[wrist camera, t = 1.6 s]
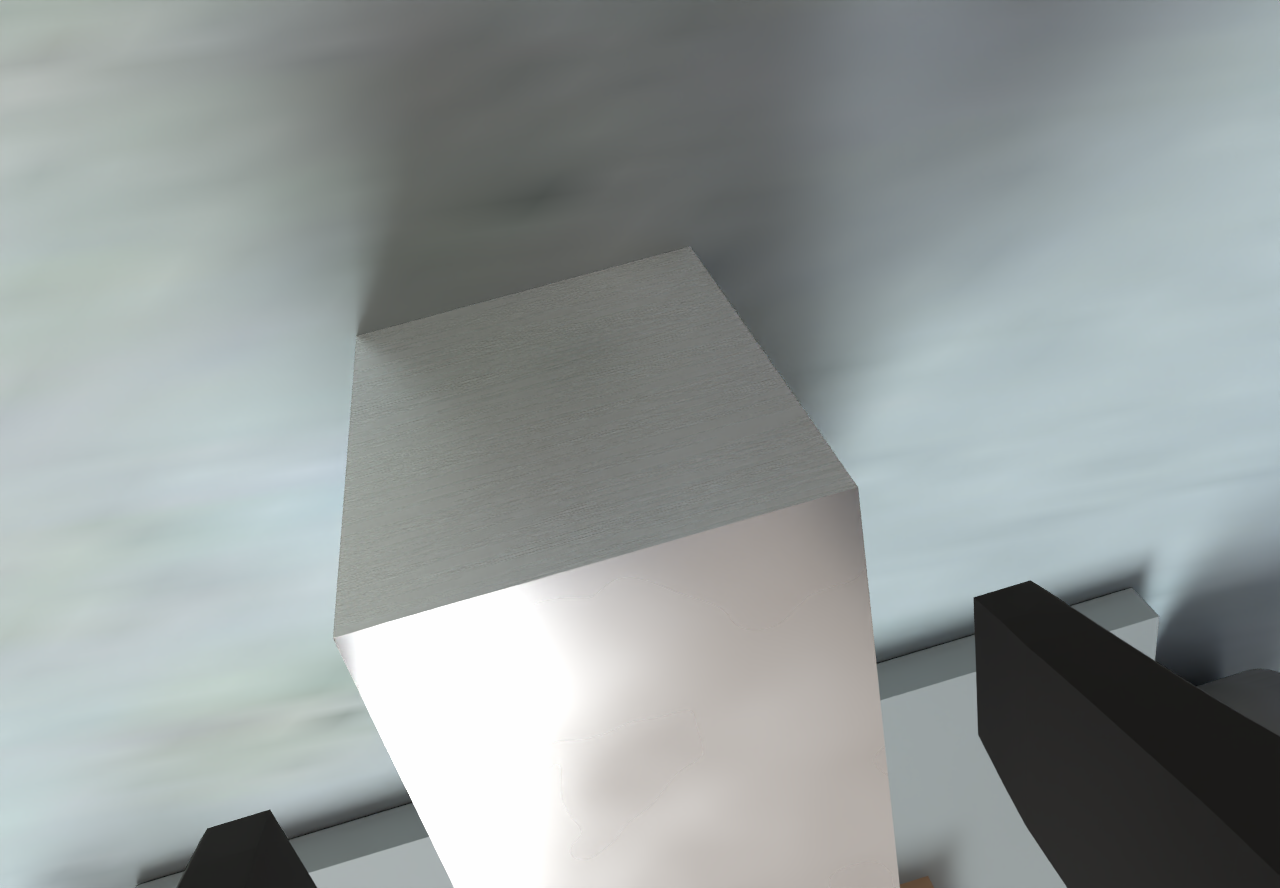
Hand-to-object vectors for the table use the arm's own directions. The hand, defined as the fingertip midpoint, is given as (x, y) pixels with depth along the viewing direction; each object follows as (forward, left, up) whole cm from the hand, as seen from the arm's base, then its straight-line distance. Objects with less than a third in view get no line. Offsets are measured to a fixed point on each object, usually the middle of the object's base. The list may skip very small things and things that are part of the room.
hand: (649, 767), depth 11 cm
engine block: (0, 0, -6) cm, 6 cm away
